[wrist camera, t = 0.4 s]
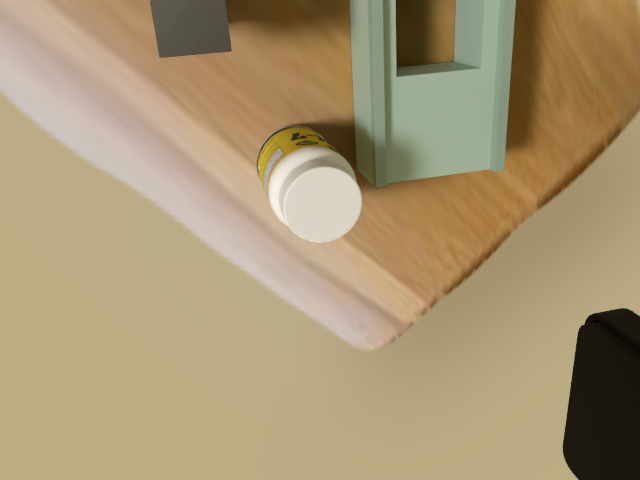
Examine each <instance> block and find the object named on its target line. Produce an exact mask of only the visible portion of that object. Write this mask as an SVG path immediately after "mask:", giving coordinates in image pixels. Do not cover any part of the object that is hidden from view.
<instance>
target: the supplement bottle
mask: <svg viewBox="0 0 640 480" xmlns="http://www.w3.org/2000/svg"><path fill="white" fill-rule="evenodd" d="M257 172H258V176H259V178H260V181H261V183H262V186H263V188H264V191H265V193H266V196H267V198H268V200H269V203H270V205H271V207H272V210H273V211H274V213H275V214H276V216H277V217H278V218H279V219H280V220H281V221H282V222H283V223H284V224H285V225H287V226H288V227H289V228H290V229H291V230H292V231H293V232H294V233H295V234H296V235H297V236H299V237H300V238H302V239H304V240H307V241H310V242H316V243H324V242H329V241H333V240H336V239H338V238H340V237H342V236H343V235H345V234H346V233H347V232H348V231H350V230H351V228H352V227H353V226H354V225H355V223H356V222H357V220H358V218H359V216H360V213H361V209H362V194H361V191H360V188H359V186H358V184H357V181H356V176H355V174H354V171H353V169H352V167H351V166H350V164H349V163H348V161H347V160H346V159H345V158H344V157H343V156H342V155H341V154H340V153H339V152H338V151H337V150H336V149H335V148H334V147H333V146H332V145H331V144H330V143H329V142H328V141H327V140H326V139H325V138H324V137H323V136H322V135H321V134H320V133H318V132H317V131H315V130H313V129H311V128H308V127H305V126H300V125H291V126H285V127H282V128H280V129H278V130H276V131H274V132H273V133H271V134H270V135H269V136H268V137H267V138H266V139H265V141H264V142H263V143H262V145H261V147H260V149H259V152H258V155H257Z"/></svg>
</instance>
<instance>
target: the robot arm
mask: <svg viewBox="0 0 640 480" xmlns="http://www.w3.org/2000/svg"><path fill="white" fill-rule="evenodd" d="M563 454H564V458H565V460H566V463H567V465H568V467H569V468H570V470H571V471H572V472H573V473H574V475H575V476H576V477H577V478H578V479H579V480H640V316H638V315H637V314H635V313H634V312H633V311H631V310H629V309H623V308H621V309H616V310H610V311H605V312H600V313H595V314H592V315H590V316H589V317H588V318H587V319H586V322H585V325H583V326H581V327H580V329H579V332H578V338H577V344H576V352H575V360H574V367H573V374H572V382H571V389H570V397H569V405H568V413H567V420H566V427H565V435H564V441H563Z"/></svg>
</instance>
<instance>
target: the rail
mask: <svg viewBox="0 0 640 480" xmlns="http://www.w3.org/2000/svg"><path fill="white" fill-rule="evenodd" d="M349 1H350V26H351V50H352V74H353V98H354V122H355V146H356V169H357V170H358V171H359V172H360V173H361V174H362V175H363V176H364V177H365V178H366V179H367V180H368V181H369V182H370V183H371V184H372V185H373V186H374V187H375V188H384V187H386V184H387V183H394V182H401V181H408V180H415V179H423V178H430V177H437V176H444V175H452V174H459V173H466V172H473V171H480V170H488V169H490V170H492V171H494V172H498V171H504V163H505V149H506V135H507V121H508V106H509V92H510V78H511V64H512V49H513V35H514V21H515V7H516V0H456V16H455V49H454V62H447V63H437V64H427V65H417V66H407V67H397V68H396V0H349Z"/></svg>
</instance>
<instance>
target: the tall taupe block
mask: <svg viewBox="0 0 640 480" xmlns="http://www.w3.org/2000/svg"><path fill="white" fill-rule="evenodd" d="M150 5H151V11H152V16H153V22H154V28H155V33H156V39H157V45H158V51H159V56H160V58H163V57H174V56H185V55H196V54H207V53H218V52H229V51H232V50H231V42H230V34H229V26H228V18H227V10H226V2H225V0H150Z"/></svg>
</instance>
